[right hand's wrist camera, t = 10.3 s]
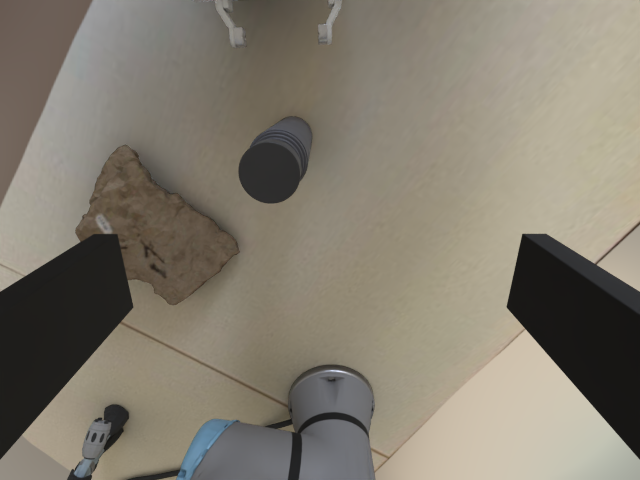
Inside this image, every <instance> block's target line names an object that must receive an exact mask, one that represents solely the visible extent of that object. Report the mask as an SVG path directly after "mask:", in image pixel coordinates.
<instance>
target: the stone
mask: <svg viewBox="0 0 640 480" xmlns="http://www.w3.org/2000/svg"><path fill="white" fill-rule="evenodd" d="M90 205H91V206H90V208H89V211H88V213H87V214H84V215H83V219H82V220H81V222H80V224H79V225H78V226H77V227H76V230H75V231H76V232H75V233H76V235H77V236H78V238H79V240H80V242H82V241H83V240H85V239H86V238H88V237H90V236H91V235H93V234H118V238H119V243H120V248H121V252H122V257H123V262H124V266H125V271H126V275H127V280H132V279H138V280H142V281H144V282H148V283H150V284H152V285H153V287H154V292H155V293H156V294H158V295H160V296H162V297H163V298H164V299H165V300H166V301H167V303H168V304H170V305H176V304H178V303H179V302H181V301H183V300H184V299H185V298H187V297H188V296H190V295H191V294H192V293H193V292H194V291H196V290H197V289H198V288H199V287H200V286H202V285H203V284H204V283H205V282H206V281H207V280H208V279H210V278H211V277H213V276H214V275H215V274H217V273H219V272H220V271H221V269H222V267H223V266H224V265H225V264H226V263H227V261H228V260H229V259H230V258H231V257H232V256H233V255H236V254H238V253H239V252H240V251H239V248H238V245H237V242H236V240H235V239H234V238H233V237H232V236H231V235H230V234H228V233H227V232H225V231H223V230H220V229H219V227H218V226H217V225H216V223H215V222H214V221H213V220H212V219H211V218H209V217H206V216H204V215H202V214H200V213H199V212H197V211H195V210H194V209H193V208H192V206H190V205H189V204H187V203H186V202H185V201H184V200H183V199H182V198H181V196H180V195H179V194H177V193H174V194H169V193H168V192H167V191H166V190H165V189H163V188H161V187H160V186H159V185H157V184H156V182H155V181H154V180H152V179H151V176H150V173H149V172H148V170H147V169H146V168H145V167H143V166H142V165H141V162H140V160H139V159H138V154H137V152H135V151H134V150H132V149H131V148H130V147H129V146H127V145H124V146H121V147H119V148H117V150H116V151H115V152H113V153H112V154H111V156H110V157H109V159H108V160H107V162H106V163H105V165H104V166H103V169H102V172H101V174H100V176H99V177H98V178H97V182H96V184H95V190H94V192H93V195H92V197H91V199H90Z"/></svg>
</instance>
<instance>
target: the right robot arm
mask: <svg viewBox="0 0 640 480" xmlns="http://www.w3.org/2000/svg"><path fill="white" fill-rule="evenodd" d="M132 308H133V303H132V299H131V294H130V289H129V285H128V280H127V275H126V271H125V266H124V262H123V257H122V252H121V248H120V243H119V238H118V234H93V235H91V236H90V237H88V238H86V239H85V240H83V241H82V242H80V243H78V244H77V245H75V246H74V247H72V248H70V249H69V250H67V251H65V252H64V253H62V254H61V255H59V256H57V257H56V258H54V259H53V260H51V261H49V262H48V263H46V264H44V265H43V266H41V267H40V268H38V269H36V270H35V271H33V272H32V273H30V274H28V275H27V276H25V277H23V278H22V279H20V280H19V281H17V282H15V283H14V284H12V285H11V286H9V287H7V288H6V289H4V290H2V291H1V292H0V459H1V458H2V457H3V456H4V455H5V453H6V452H7V451H8V450H9V449H10V448H11V446H12V445H13V444H14V443H15V442H16V441H17V440H18V439H19V437H20V436H21V435H22V434H23V433H24V432H25V431H26V429H27V428H28V427H29V426H30V425H31V424H32V423H33V421H34V420H35V419H36V418H37V417H38V416H39V415H40V413H41V412H42V411H43V410H44V409H45V408H46V407H47V405H48V404H49V403H50V402H51V401H52V400H53V399H54V397H55V396H56V395H57V394H58V393H59V392H60V391H61V389H62V388H63V387H64V386H65V385H66V384H67V383H68V381H69V380H70V379H71V378H72V377H73V376H74V375H75V373H76V372H77V371H78V370H79V369H80V368H81V367H82V365H83V364H84V363H85V362H86V361H87V360H88V359H89V357H90V356H91V355H92V354H93V353H94V352H95V351H96V349H97V348H98V347H99V346H100V345H101V344H102V343H103V341H104V340H105V339H106V338H107V337H108V336H109V335H110V333H111V332H112V331H113V330H114V329H115V328H116V327H117V325H118V324H119V323H120V322H121V321H122V320H123V319H124V317H125V316H126V315H127V314H128V313H129V312H130V311H131V309H132ZM507 308H508V309H509V311H510V312H511V313H512V314H513V315H514V316H515V317H516V319H517V320H518V321H519V322H520V323H521V324H522V325H523V327H524V328H525V329H526V330H527V331H528V332H529V333H530V335H531V336H532V337H533V338H534V339H535V340H536V341H537V343H538V344H539V345H540V346H541V347H542V348H543V349H544V351H545V352H546V353H547V354H548V355H549V356H550V357H551V359H552V360H553V361H554V362H555V363H556V364H557V365H558V367H559V368H560V369H561V370H562V371H563V372H564V373H565V375H566V376H567V377H568V378H569V379H570V380H571V381H572V383H573V384H574V385H575V386H576V387H577V388H578V389H579V391H580V392H581V393H582V394H583V395H584V396H585V397H586V399H587V400H588V401H589V402H590V403H591V404H592V405H593V407H594V408H595V409H596V410H597V411H598V412H599V413H600V415H601V416H602V417H603V418H604V419H605V420H606V421H607V423H608V424H609V425H610V426H611V427H612V428H613V429H614V431H615V432H616V433H617V434H618V435H619V436H620V437H621V439H622V440H623V441H624V442H625V443H626V444H627V445H628V447H629V448H630V449H631V450H632V451H633V452H634V453H635V455H636V456H637V457H638V458H639V459H640V292H639V291H638V290H636V289H634V288H633V287H631V286H629V285H628V284H626V283H625V282H623V281H621V280H620V279H618V278H617V277H615V276H613V275H612V274H610V273H608V272H607V271H605V270H604V269H602V268H600V267H599V266H597V265H596V264H594V263H592V262H591V261H589V260H587V259H586V258H584V257H583V256H581V255H579V254H578V253H576V252H575V251H573V250H571V249H570V248H568V247H566V246H565V245H563V244H562V243H560V242H558V241H557V240H555V239H554V238H552V237H550V236H549V235H547V234H522V238H521V243H520V248H519V252H518V257H517V262H516V266H515V271H514V275H513V280H512V285H511V289H510V294H509V299H508V303H507ZM374 406H375V403H374V396H373V391H372V388H371V386H370V384H369V382H368V381H367V380H366V379H365V377H363V376H362V375H361V374H360V373H358V372H357V371H355V370H353V369H350V368H347V367H344V366H338V365H325V366H319V367H316V368H313V369H310V370H308V371H306V372H305V373H303V374H302V375H301V376H299V377H298V378H297V379H296V381H295V382H294V383H293V385H292V387H291V389H290V393H289V401H288V409H289V413H290V417H291V419H289V420H286V421H283V422H279V423H276V424H272V425H268V426H266V427H262V426H257V425H252V424H246V423H241V422H240V421H239V420H232V421H229V420H222V419H212V420H210V421H208V422H206V423H205V424H204V425H203V426H202V427H201V428H200V429H199V431H198V432H197V434H196V436H195V437H194V439H193V441H192V443H191V445H190V447H189V449H188V451H187V453H186V455H185V458H184V460H183V462H182V465H181V469H180V470H176V471H171V472H166V473H162V474H156V475H150V476H142V477H136V478H132V479H128V480H158V479H163V478H167V477H172V476H177V479H176V480H375V474H374V467H373V461H372V454H371V448H370V441H369V430H370V425H371V419H372V416H373V412H374ZM292 424H293V427H294V430H295V433H294V432H289V431H284V430H278V428H282V427H285V426H288V425H292Z"/></svg>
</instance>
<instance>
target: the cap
mask: <svg viewBox="0 0 640 480" xmlns="http://www.w3.org/2000/svg"><path fill="white" fill-rule="evenodd" d="M300 177H301V162H300V159H299V156H298V155H297V153H296V152H295V150H294V149H293V148H292V147H291V146H290V145H288V144H287V143H285V142H283V141H280V140H276V139H267V140H262V141H260V142H258V143H256V144H255V145H253V146H252V147H251V148H249V149H248V150H247V151H246V152H245V154H244V155H243V157H242V159H241V161H240V164H239V178H240V182H241V184H242V186H243V188H244V189H245V191H246V192H247V193H248V194H249V195H250V196H251V197H253V198H254V199H256V200H258V201H260V202H263V203H278V202H282V201H284V200H286V199H288V198H289V197H290V196H291V195H292V194H293V193H294V192H295V191H296V189H297V187H298V185H299V181H300Z"/></svg>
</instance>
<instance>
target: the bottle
mask: <svg viewBox="0 0 640 480" xmlns="http://www.w3.org/2000/svg"><path fill="white" fill-rule="evenodd" d="M267 139H276V140H280V141H283V142H285V143H287V144H288V145H290V146H291V147H292V148H293V149H294V150H295V152H296V153H297V155H298V156H299V159H300V162H301V177H300V181H301V179H302V178H303V177H304V175H305V173H306V170H307V166H308V161H309V155H310V149H311V143H312V132H311V129H310V127H309V125H308V124H307V123H306V122H305V121H304V120H303V119H301V118H298V117H286V118H284V119H282V120H281V121H279V122H278V123H276V124H275V125H273V126H272V127H270V128H269V129H267V130H266V131H264V132H263V133H261V134H260V135H259V136H257V137H256V138H255V139H254V141H253V142H252V144H251V146H250V148H251V147H252V146H253V145H255V144H256V143H258V142H260V141H262V140H267ZM300 181H299V182H300Z"/></svg>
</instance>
